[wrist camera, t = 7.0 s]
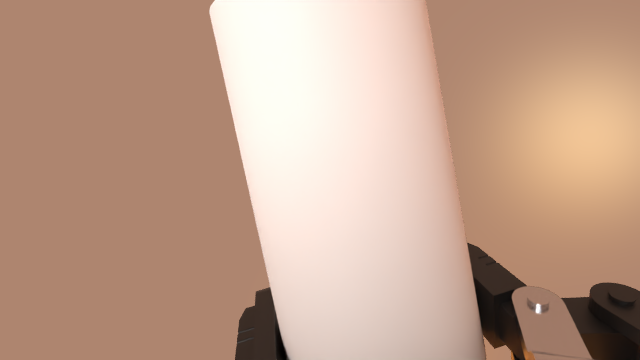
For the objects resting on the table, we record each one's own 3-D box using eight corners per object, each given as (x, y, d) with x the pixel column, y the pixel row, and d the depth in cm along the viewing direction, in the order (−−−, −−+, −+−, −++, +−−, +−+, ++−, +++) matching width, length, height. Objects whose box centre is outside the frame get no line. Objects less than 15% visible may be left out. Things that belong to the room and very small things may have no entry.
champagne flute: (387, 422, 20) (303, 25, 11) (505, 501, 15) (508, -52, 7) (326, 548, 15) (110, 39, 7) (469, 711, 11) (353, -157, 2)
